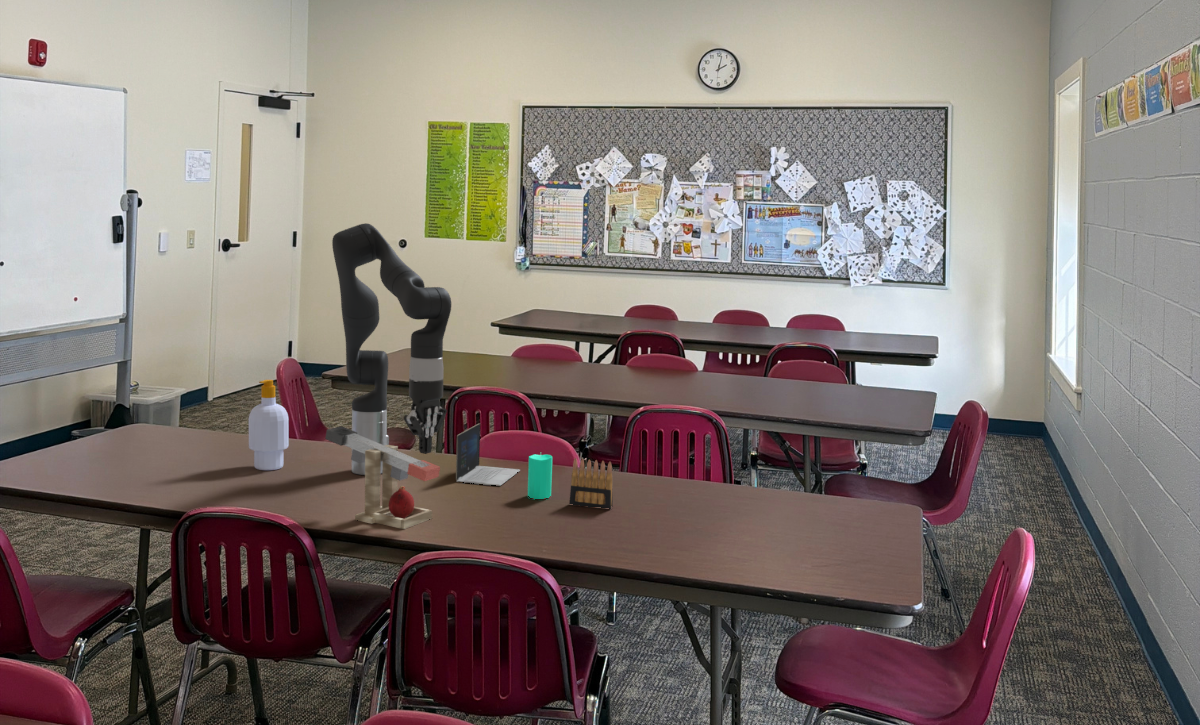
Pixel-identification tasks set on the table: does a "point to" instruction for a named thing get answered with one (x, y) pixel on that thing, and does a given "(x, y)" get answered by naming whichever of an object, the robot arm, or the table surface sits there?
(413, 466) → the lever
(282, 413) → the soap bottle
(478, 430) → the laptop
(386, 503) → the press stand
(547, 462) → the candle
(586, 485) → the ammunition clip
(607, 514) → the table surface
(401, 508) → the onion
